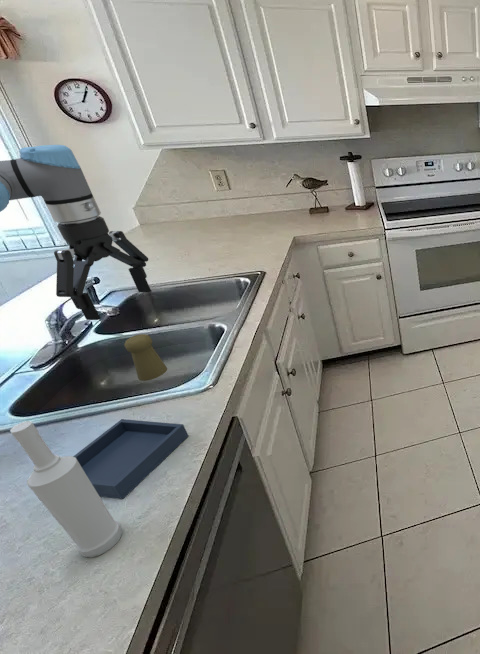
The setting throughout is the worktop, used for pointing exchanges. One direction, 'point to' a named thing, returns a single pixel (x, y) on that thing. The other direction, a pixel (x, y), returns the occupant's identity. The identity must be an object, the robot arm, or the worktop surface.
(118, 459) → the tray
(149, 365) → the cork
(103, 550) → the bottle
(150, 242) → the worktop surface
